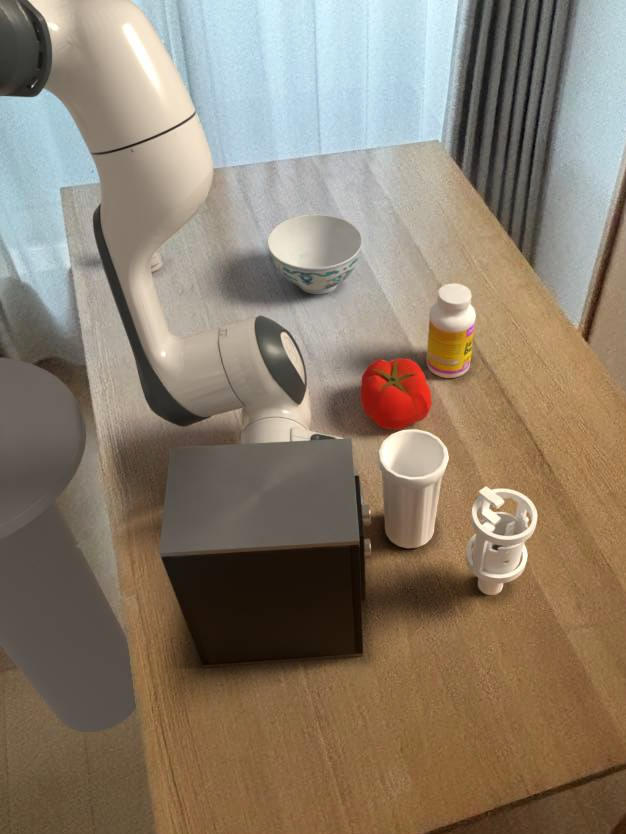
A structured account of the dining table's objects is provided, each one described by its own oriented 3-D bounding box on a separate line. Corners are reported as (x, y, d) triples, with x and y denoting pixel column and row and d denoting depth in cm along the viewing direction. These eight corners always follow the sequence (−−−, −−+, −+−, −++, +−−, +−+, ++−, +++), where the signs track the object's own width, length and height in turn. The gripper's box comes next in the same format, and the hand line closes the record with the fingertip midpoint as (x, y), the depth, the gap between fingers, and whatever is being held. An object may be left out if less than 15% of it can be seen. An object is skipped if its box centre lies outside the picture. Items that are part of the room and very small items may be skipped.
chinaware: (347, 249, 137) (345, 207, 131) (375, 299, 129) (375, 257, 123) (262, 265, 134) (257, 223, 128) (286, 318, 125) (281, 276, 119)
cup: (396, 497, 104) (398, 419, 92) (451, 520, 102) (460, 443, 90) (366, 540, 100) (364, 464, 88) (423, 565, 97) (429, 490, 86)
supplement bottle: (466, 383, 118) (475, 311, 107) (422, 376, 118) (427, 304, 108) (472, 354, 121) (481, 282, 111) (430, 348, 122) (434, 276, 112)
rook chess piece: (168, 263, 133) (158, 219, 127) (153, 277, 131) (141, 233, 125) (146, 256, 134) (135, 212, 128) (131, 270, 132) (118, 226, 126)
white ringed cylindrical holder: (489, 551, 99) (504, 471, 87) (531, 586, 96) (552, 508, 84) (449, 582, 96) (459, 504, 84) (491, 619, 93) (508, 544, 81)
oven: (203, 667, 88) (158, 553, 71) (208, 572, 96) (170, 447, 78) (376, 655, 90) (375, 539, 72) (368, 562, 98) (366, 437, 80)
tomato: (417, 379, 118) (419, 344, 112) (436, 431, 111) (439, 396, 106) (353, 389, 116) (352, 354, 111) (369, 442, 110) (368, 407, 105)
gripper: (183, 447, 92) (174, 541, 84) (359, 437, 94) (367, 529, 85) (194, 482, 97) (186, 575, 89) (360, 473, 99) (367, 563, 90)
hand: (276, 553), depth 87 cm, fingers closed on beverage can, 6 cm apart
